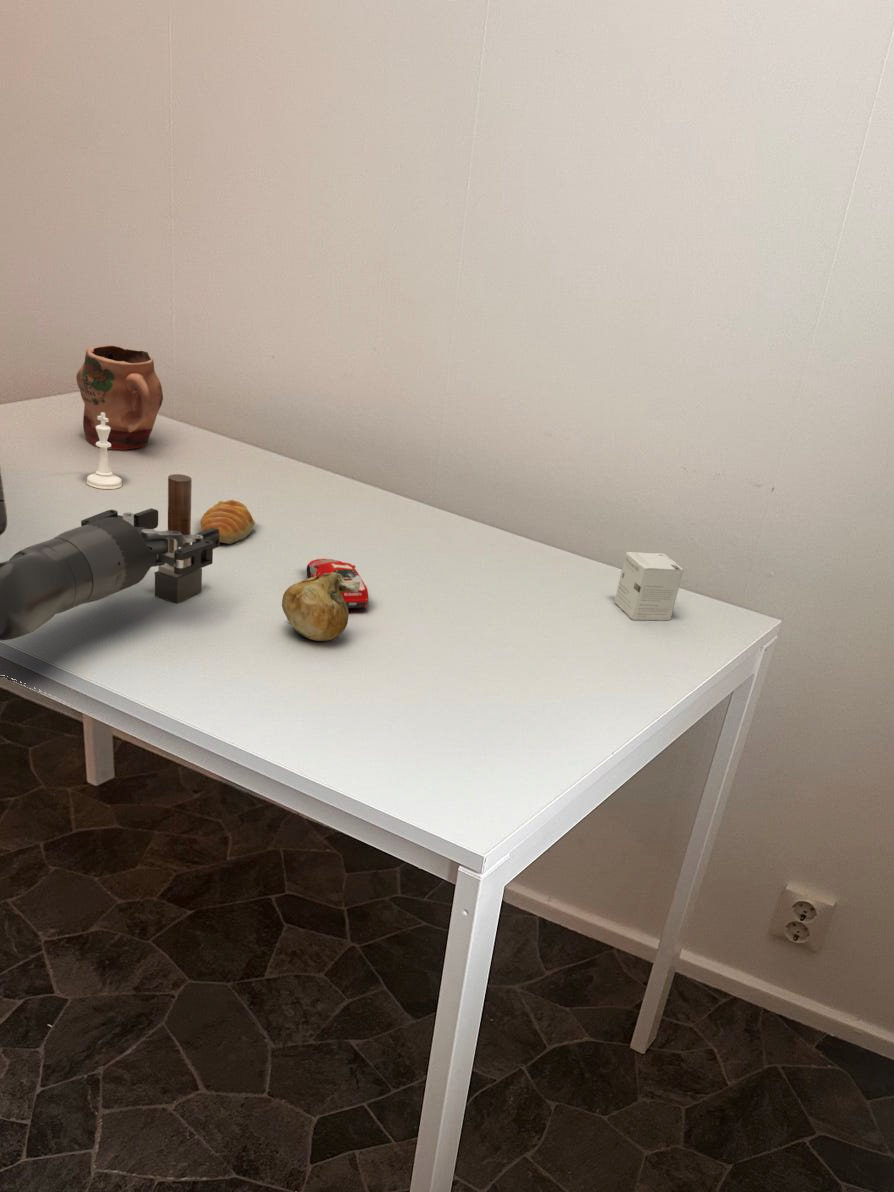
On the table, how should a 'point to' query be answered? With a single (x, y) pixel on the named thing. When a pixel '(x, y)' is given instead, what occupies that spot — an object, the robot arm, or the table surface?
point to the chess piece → (103, 460)
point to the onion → (318, 606)
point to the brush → (178, 520)
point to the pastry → (229, 520)
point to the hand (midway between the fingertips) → (185, 526)
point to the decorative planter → (119, 395)
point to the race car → (347, 574)
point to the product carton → (648, 586)
